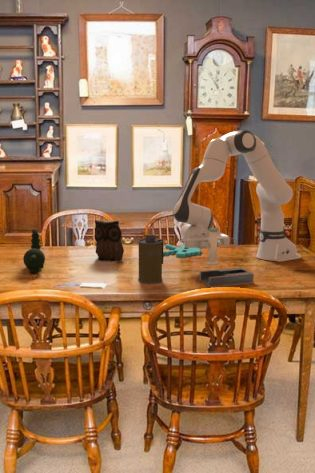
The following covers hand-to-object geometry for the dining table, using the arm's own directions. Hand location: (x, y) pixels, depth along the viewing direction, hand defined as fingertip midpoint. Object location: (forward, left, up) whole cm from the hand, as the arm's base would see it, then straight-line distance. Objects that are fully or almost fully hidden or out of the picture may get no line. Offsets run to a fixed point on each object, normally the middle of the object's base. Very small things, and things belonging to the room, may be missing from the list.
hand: (214, 245), depth 211 cm
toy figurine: (+69, -45, -17) cm, 84 cm away
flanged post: (0, -1, -8) cm, 8 cm away
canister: (+23, -13, -17) cm, 32 cm away
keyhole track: (-7, -1, -17) cm, 18 cm away
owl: (+30, -54, -17) cm, 64 cm away
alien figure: (-8, -55, -17) cm, 58 cm away
